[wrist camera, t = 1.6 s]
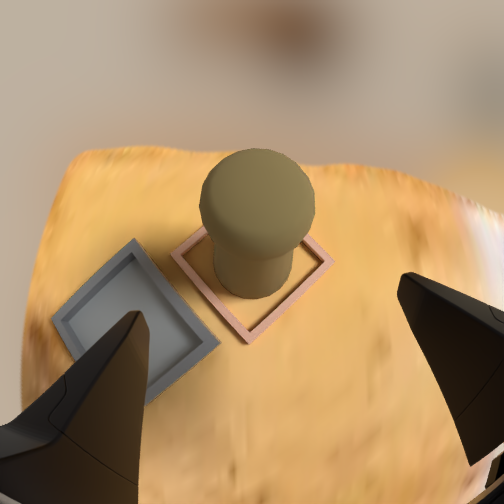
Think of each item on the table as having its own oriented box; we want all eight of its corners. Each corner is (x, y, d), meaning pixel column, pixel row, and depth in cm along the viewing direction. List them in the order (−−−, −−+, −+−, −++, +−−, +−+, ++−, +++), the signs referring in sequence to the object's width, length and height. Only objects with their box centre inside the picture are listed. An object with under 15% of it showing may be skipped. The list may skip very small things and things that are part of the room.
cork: (249, 315, 20) (253, 292, 9) (197, 256, 21) (155, 180, 11) (308, 262, 21) (361, 193, 11) (255, 209, 23) (263, 110, 12)
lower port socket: (221, 342, 19) (219, 343, 18) (128, 419, 17) (121, 423, 16) (140, 244, 21) (134, 237, 20) (61, 320, 19) (51, 318, 18)
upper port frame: (333, 263, 21) (335, 261, 21) (249, 344, 19) (249, 344, 19) (255, 187, 23) (255, 184, 23) (171, 255, 21) (169, 253, 21)
